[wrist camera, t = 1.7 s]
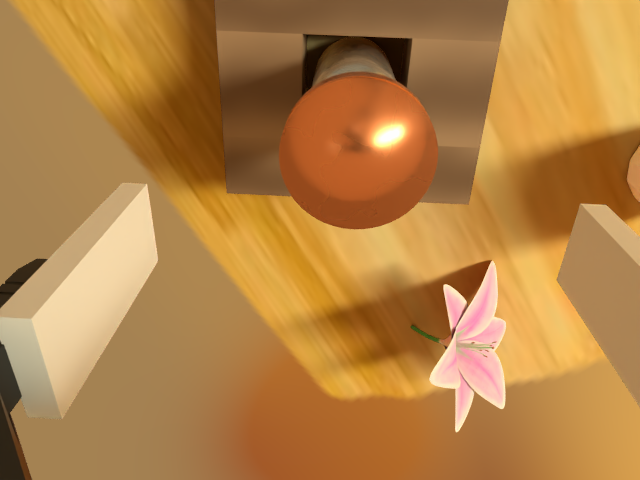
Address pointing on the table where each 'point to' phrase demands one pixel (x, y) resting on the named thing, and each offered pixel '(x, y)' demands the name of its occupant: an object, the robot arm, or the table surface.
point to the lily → (471, 347)
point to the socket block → (355, 20)
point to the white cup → (634, 174)
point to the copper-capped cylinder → (357, 141)
